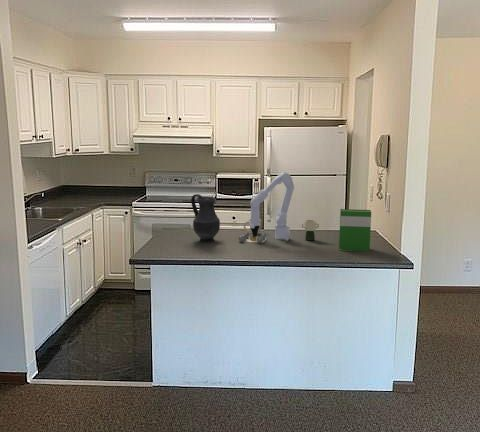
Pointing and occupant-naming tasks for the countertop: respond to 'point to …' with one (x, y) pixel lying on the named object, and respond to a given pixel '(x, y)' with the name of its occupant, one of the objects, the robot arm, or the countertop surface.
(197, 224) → the pitcher
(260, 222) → the mug
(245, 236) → the spacers
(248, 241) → the plate
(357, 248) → the green cereal box
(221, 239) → the countertop surface
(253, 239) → the faceted gold polyhedron
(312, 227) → the character mug
